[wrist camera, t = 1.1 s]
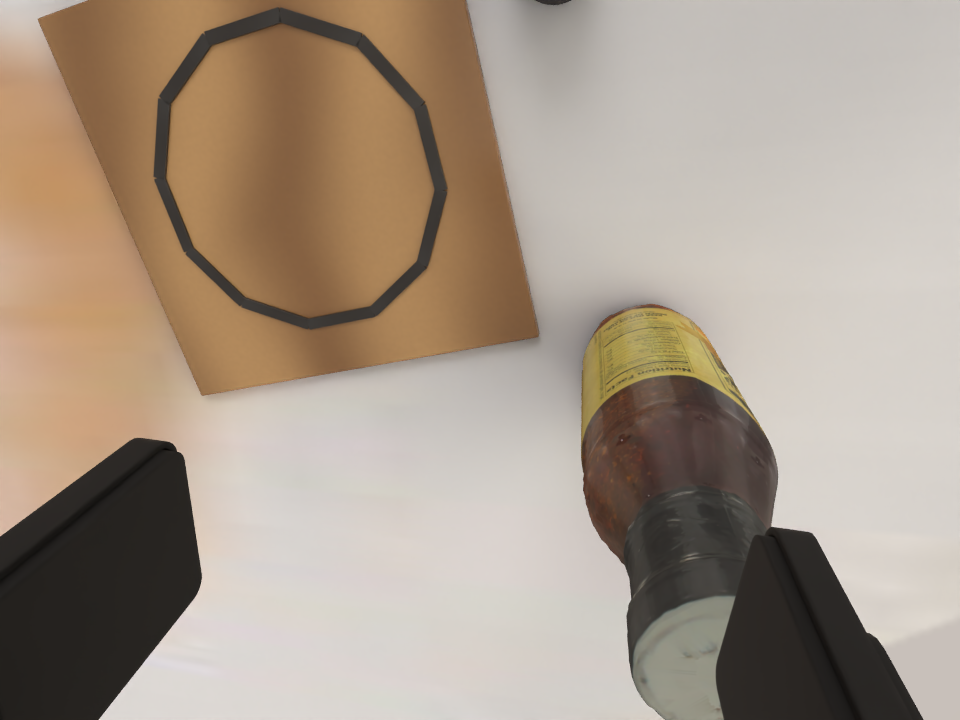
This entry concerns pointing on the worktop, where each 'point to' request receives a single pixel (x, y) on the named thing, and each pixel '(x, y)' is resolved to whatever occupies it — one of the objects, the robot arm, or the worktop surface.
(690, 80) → the worktop surface
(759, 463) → the sauce bottle
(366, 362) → the board
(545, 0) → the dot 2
